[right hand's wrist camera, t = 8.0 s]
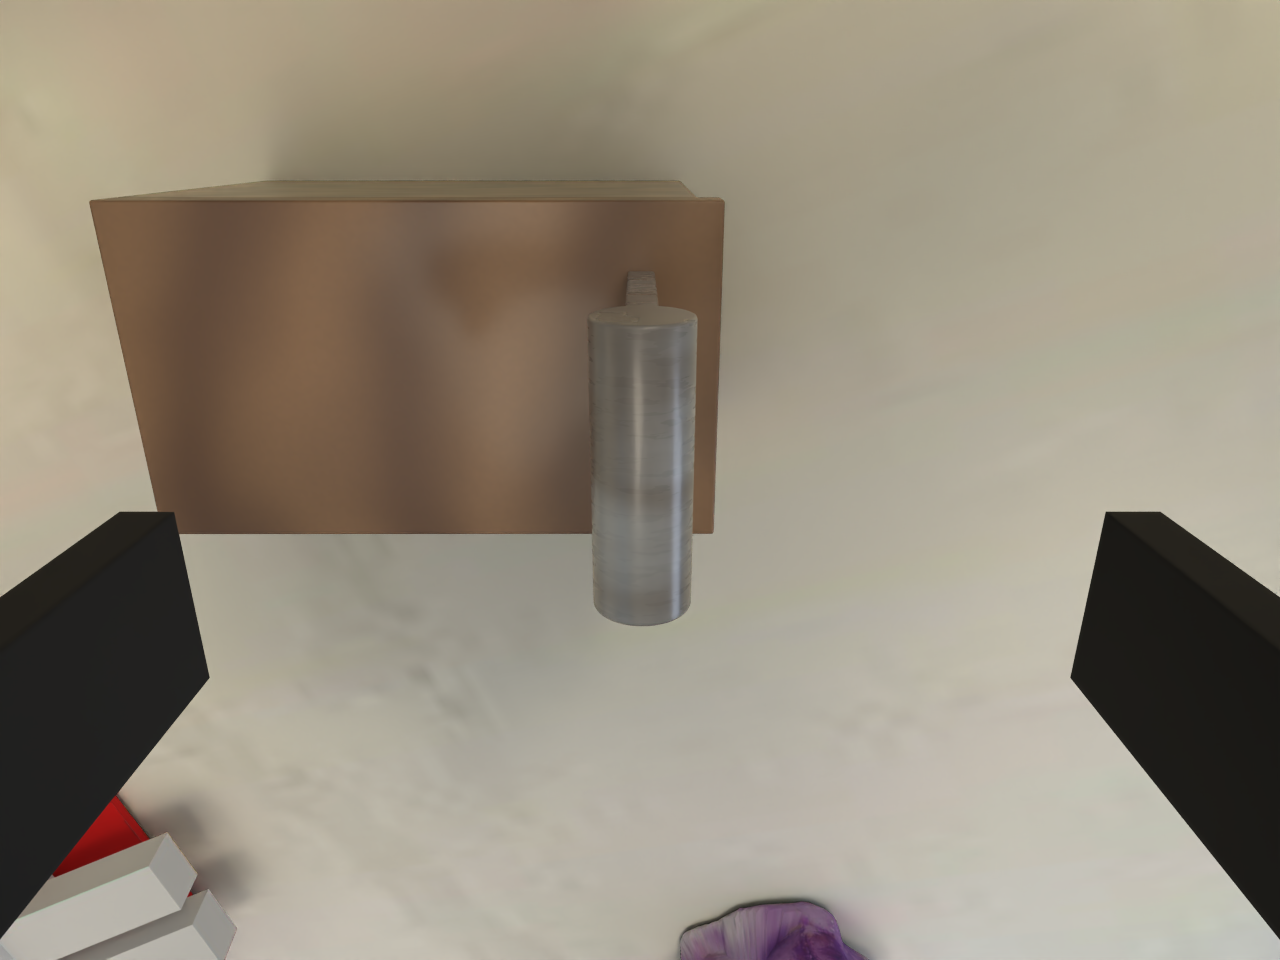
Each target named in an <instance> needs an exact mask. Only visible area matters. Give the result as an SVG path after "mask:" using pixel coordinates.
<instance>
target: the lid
mask: <svg viewBox="0 0 1280 960" xmlns="http://www.w3.org/2000/svg"><path fill="white" fill-rule="evenodd" d="M89 203H90V208H91V212H92V217H93V221H94V226H95V230H96V235H97V239H98V244H99V248H100V253H101V258H102V262H103V267H104V271H105V276H106V280H107V285H108V289H109V294H110V298H111V303H112V307H113V312H114V316H115V321H116V325H117V330H118V334H119V339H120V343H121V348H122V352H123V357H124V362H125V366H126V371H127V375H128V380H129V384H130V389H131V393H132V398H133V402H134V407H135V411H136V416H137V420H138V425H139V429H140V434H141V438H142V443H143V447H144V452H145V456H146V461H147V466H148V470H149V475H150V479H151V484H152V488H153V493H154V497H155V502H156V506H157V511H158V512H174V514H175V518H176V523H177V528H178V532H179V534H592V552H593V597H594V605H595V607H596V609H597V611H598V612H599V613H600V614H601V615H603V616H604V617H606V618H607V619H609V620H612V621H614V622H617V623H621V624H625V625H632V626H652V625H659V624H664V623H667V622H670V621H673V620H675V619H677V618H679V617H680V616H682V615H683V614H684V613H685V612H686V611H687V610H688V608H689V606H690V603H691V569H692V534H712V533H713V532H714V504H715V475H716V445H717V416H718V386H719V357H720V328H721V298H722V269H723V239H724V210H725V202H724V200H722V199H721V198H719V197H576V198H107V199H98V200H91V201H90V202H89Z"/></svg>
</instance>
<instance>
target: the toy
mask: <svg viewBox="0 0 1280 960" xmlns="http://www.w3.org/2000/svg"><path fill="white" fill-rule="evenodd" d="M197 875H198V874H197V872H196V871H195V870H194V868H193V867H192V865H191V864H190V863H189V861H188V860H187V858H186V857H185V856H184V854H183V853H182V852H181V850H180V849H179V847H178V846H177V845H176V843H175V842H174V841H173V839H172V838H171V836H170V835H169V834H168V832H167V833H164V834H162V835H159V836H157V837H154V838H152V839H149V838H148V836H147V835H146V834H145V833H144V831H143V830H142V829H141V827H140V826H139V825H138V824H137V822H136V821H135V820H134V818H133V817H132V816H131V815H130V813H129V812H128V811H127V809H126V808H125V807H124V806H123V804H122V803H121V802H120V800H119V799H118V798H117V797H116V795H115V797H114V798H113V799H112V800H111V802H110V803H109V804H108V805H107V807H106V808H105V809H104V810H103V812H102V813H101V814H100V815H99V817H98V818H97V819H96V820H95V822H94V823H93V824H92V825H91V827H90V828H89V829H88V830H87V832H86V833H85V834H84V835H83V837H82V838H81V839H80V840H79V842H78V843H77V844H76V845H75V847H74V848H73V849H72V850H71V852H70V853H69V854H68V855H67V857H66V858H65V859H64V860H63V862H62V863H61V864H60V865H59V867H58V868H57V869H56V870H55V872H54V873H53V874H52V875H51V877H50V878H49V879H48V880H47V882H46V883H45V884H44V885H43V887H42V888H41V889H40V890H39V892H38V893H37V894H36V895H35V897H34V898H33V899H32V900H31V902H30V903H29V904H28V905H27V907H26V908H25V909H24V910H23V912H22V913H21V914H20V915H19V917H18V918H17V919H16V920H15V922H14V923H13V924H12V925H11V927H10V928H9V929H8V930H7V932H6V933H5V934H4V935H3V937H2V938H1V939H0V960H225V958H226V956H227V953H228V951H229V948H230V945H231V943H232V940H233V938H234V935H235V932H236V930H237V928H236V926H235V925H234V923H233V922H232V921H231V919H230V918H229V916H228V915H227V914H226V912H225V911H224V910H223V908H222V907H221V905H220V904H219V903H218V901H217V900H216V899H215V897H214V896H213V894H212V893H211V892H210V890H209V889H207V890H204V891H202V892H199V893H197V894H194V895H193V894H192V893H191V892H190V890H191V887H192V885H193V883H194V881H195V879H196V877H197Z"/></svg>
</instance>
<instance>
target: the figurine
mask: <svg viewBox="0 0 1280 960" xmlns="http://www.w3.org/2000/svg"><path fill="white" fill-rule="evenodd" d="M680 948H681V950H680V951H681V952H682V953H681V957H680V958H681V959H682V960H869V959H868V958H866V957H865V956H863V955H862V954H860V953H858V952H856V951H854V950H853V949H851V948H850V947H848V946H847V945H846V944H844V943H843V941H842V939H841V934H840V931H839V928H838V925H837V922H836V920H835V918H834V917H833V915H832V914H831V913H829V912H828V911H827V910H826V909H823V908H821V907H819V906H816V905H814V904H812V903H809V902H803V901H801V902H796V903H782V904H766V905H757V906H752V907H747V908H739V909H738V910H736V911H735V912H732V913H730V914H728V915H726V916H724V917H723V918H721V919H720V920H719V921H715V922H712V923H710V924H704V925H703V926H697V927H696V928H694V929H692V930H689V931H687V932H685V933H684V934H683V936H682V939H681V940H680Z"/></svg>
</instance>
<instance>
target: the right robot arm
mask: <svg viewBox="0 0 1280 960" xmlns="http://www.w3.org/2000/svg"><path fill="white" fill-rule="evenodd" d="M209 678H210V677H209V673H208V668H207V663H206V659H205V654H204V649H203V645H202V640H201V635H200V631H199V626H198V621H197V617H196V612H195V607H194V602H193V598H192V593H191V588H190V584H189V579H188V574H187V570H186V565H185V560H184V556H183V551H182V546H181V542H180V537H179V532H178V528H177V523H176V518H175V514H174V512H119V513H117V514H116V515H115V516H113V517H112V518H110V519H109V520H108V521H106V522H105V523H103V524H102V525H101V526H99V527H98V528H96V529H95V530H94V531H92V532H91V533H89V534H88V535H87V536H85V537H84V538H82V539H81V540H80V541H78V542H77V543H75V544H74V545H73V546H71V547H70V548H68V549H67V550H66V551H64V552H63V553H61V554H60V555H59V556H57V557H56V558H54V559H53V560H52V561H50V562H49V563H48V564H46V565H45V566H43V567H42V568H41V569H39V570H38V571H36V572H35V573H34V574H32V575H31V576H29V577H28V578H27V579H25V580H24V581H22V582H21V583H20V584H18V585H17V586H15V587H14V588H13V589H11V590H10V591H8V592H7V593H6V594H4V595H3V596H1V597H0V939H1V938H2V937H3V935H4V934H5V933H6V932H7V930H8V929H9V928H10V927H11V925H12V924H13V923H14V922H15V920H16V919H17V918H18V917H19V915H20V914H21V913H22V912H23V910H24V909H25V908H26V907H27V905H28V904H29V903H30V902H31V900H32V899H33V898H34V897H35V895H36V894H37V893H38V892H39V890H40V889H41V888H42V887H43V885H44V884H45V883H46V882H47V880H48V879H49V878H50V877H51V875H52V874H53V873H54V872H55V870H56V869H57V868H58V867H59V865H60V864H61V863H62V862H63V860H64V859H65V858H66V857H67V855H68V854H69V853H70V852H71V850H72V849H73V848H74V847H75V845H76V844H77V843H78V842H79V840H80V839H81V838H82V837H83V835H84V834H85V833H86V832H87V830H88V829H89V828H90V827H91V825H92V824H93V823H94V822H95V820H96V819H97V818H98V817H99V815H100V814H101V813H102V812H103V810H104V809H105V808H106V807H107V805H108V804H109V803H110V802H111V800H112V799H113V798H114V797H115V795H116V794H117V793H118V792H119V790H120V789H121V788H122V787H123V785H124V784H125V783H126V782H127V780H128V779H129V778H130V777H131V775H132V774H133V773H134V772H135V770H136V769H137V768H138V767H139V765H140V764H141V763H142V762H143V760H144V759H145V758H146V757H147V755H148V754H149V753H150V752H151V750H152V749H153V748H154V747H155V745H156V744H157V743H158V742H159V740H160V739H161V738H162V737H163V735H164V734H165V733H166V732H167V730H168V729H169V728H170V727H171V725H172V724H173V723H174V722H175V720H176V719H177V718H178V717H179V715H180V714H181V713H182V712H183V710H184V709H185V708H186V707H187V705H188V704H189V703H190V702H191V700H192V699H193V698H194V697H195V695H196V694H197V693H198V692H199V690H200V689H201V688H202V687H203V685H204V684H205V683H206V682H207V680H208V679H209ZM1070 678H1071V679H1072V680H1073V682H1074V683H1075V684H1076V685H1077V687H1078V688H1079V689H1080V690H1081V692H1082V693H1083V694H1084V695H1085V697H1086V698H1087V699H1088V700H1089V702H1090V703H1091V704H1092V705H1093V707H1094V708H1095V709H1096V710H1097V712H1098V713H1099V714H1100V715H1101V717H1102V718H1103V719H1104V720H1105V722H1106V723H1107V724H1108V725H1109V727H1110V728H1111V729H1112V730H1113V732H1114V733H1115V734H1116V735H1117V737H1118V738H1119V739H1120V740H1121V742H1122V743H1123V744H1124V745H1125V747H1126V748H1127V749H1128V750H1129V752H1130V753H1131V754H1132V755H1133V757H1134V758H1135V759H1136V760H1137V762H1138V763H1139V764H1140V765H1141V767H1142V768H1143V769H1144V770H1145V772H1146V773H1147V774H1148V775H1149V777H1150V778H1151V779H1152V780H1153V782H1154V783H1155V784H1156V785H1157V787H1158V788H1159V789H1160V790H1161V792H1162V793H1163V794H1164V795H1165V797H1166V798H1167V799H1168V800H1169V802H1170V803H1171V804H1172V805H1173V807H1174V808H1175V809H1176V810H1177V812H1178V813H1179V814H1180V815H1181V817H1182V818H1183V819H1184V820H1185V822H1186V823H1187V824H1188V825H1189V827H1190V828H1191V829H1192V830H1193V832H1194V833H1195V834H1196V835H1197V837H1198V838H1199V839H1200V840H1201V842H1202V843H1203V844H1204V845H1205V847H1206V848H1207V849H1208V850H1209V852H1210V853H1211V854H1212V855H1213V857H1214V858H1215V859H1216V860H1217V862H1218V863H1219V864H1220V865H1221V867H1222V868H1223V869H1224V870H1225V872H1226V873H1227V874H1228V875H1229V877H1230V878H1231V879H1232V880H1233V882H1234V883H1235V884H1236V885H1237V887H1238V888H1239V889H1240V890H1241V892H1242V893H1243V894H1244V895H1245V897H1246V898H1247V899H1248V900H1249V902H1250V903H1251V904H1252V905H1253V907H1254V908H1255V909H1256V910H1257V912H1258V913H1259V914H1260V915H1261V917H1262V918H1263V919H1264V920H1265V922H1266V923H1267V924H1268V925H1269V927H1270V928H1271V929H1272V930H1273V932H1274V933H1275V934H1276V935H1277V937H1278V938H1279V939H1280V597H1279V596H1277V595H1276V594H1274V593H1273V592H1272V591H1270V590H1269V589H1267V588H1266V587H1265V586H1263V585H1262V584H1260V583H1259V582H1258V581H1256V580H1255V579H1253V578H1252V577H1251V576H1249V575H1248V574H1246V573H1245V572H1244V571H1242V570H1241V569H1239V568H1238V567H1237V566H1235V565H1234V564H1232V563H1231V562H1230V561H1228V560H1227V559H1226V558H1224V557H1223V556H1221V555H1220V554H1219V553H1217V552H1216V551H1214V550H1213V549H1212V548H1210V547H1209V546H1207V545H1206V544H1205V543H1203V542H1202V541H1200V540H1199V539H1198V538H1196V537H1195V536H1193V535H1192V534H1191V533H1189V532H1188V531H1186V530H1185V529H1184V528H1182V527H1181V526H1179V525H1178V524H1177V523H1175V522H1174V521H1172V520H1171V519H1170V518H1168V517H1167V516H1165V515H1164V514H1163V513H1161V512H1106V514H1105V518H1104V523H1103V528H1102V532H1101V537H1100V542H1099V546H1098V551H1097V556H1096V560H1095V565H1094V570H1093V574H1092V579H1091V584H1090V588H1089V593H1088V598H1087V602H1086V607H1085V612H1084V617H1083V621H1082V626H1081V631H1080V635H1079V640H1078V645H1077V649H1076V654H1075V659H1074V663H1073V668H1072V673H1071V677H1070Z"/></svg>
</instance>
